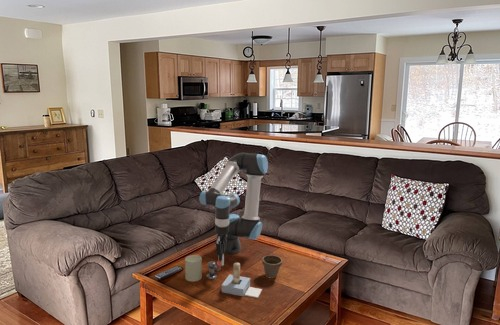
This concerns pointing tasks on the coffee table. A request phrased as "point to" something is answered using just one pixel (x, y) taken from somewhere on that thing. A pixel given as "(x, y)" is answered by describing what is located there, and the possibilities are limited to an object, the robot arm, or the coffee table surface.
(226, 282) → the block
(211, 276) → the crank post
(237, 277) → the dowel
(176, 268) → the coffee table surface
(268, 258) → the flower pot
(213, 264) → the chrome ball lever
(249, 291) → the mat
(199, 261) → the can
